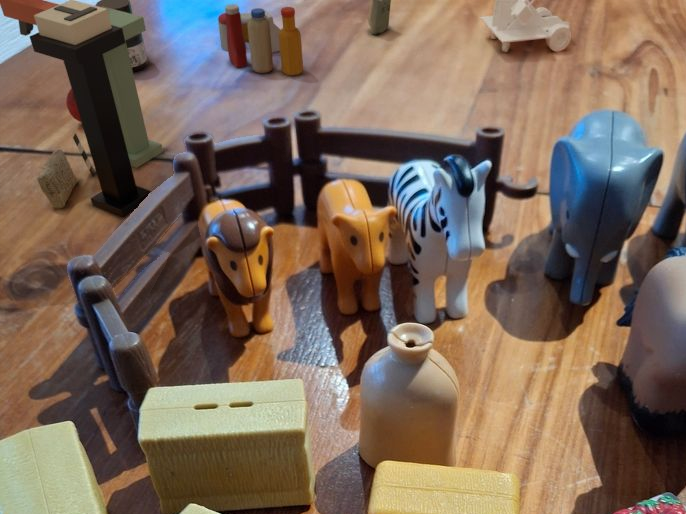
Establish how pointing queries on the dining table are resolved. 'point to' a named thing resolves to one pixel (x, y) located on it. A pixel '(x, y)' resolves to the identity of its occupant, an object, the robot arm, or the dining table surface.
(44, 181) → the cuneiform tablet
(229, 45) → the toy food
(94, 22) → the beige flat block
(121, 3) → the ink bottle
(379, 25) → the olive upright narrow post
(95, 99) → the tall stand
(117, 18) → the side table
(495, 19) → the catapult
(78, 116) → the onion
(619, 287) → the dining table surface
